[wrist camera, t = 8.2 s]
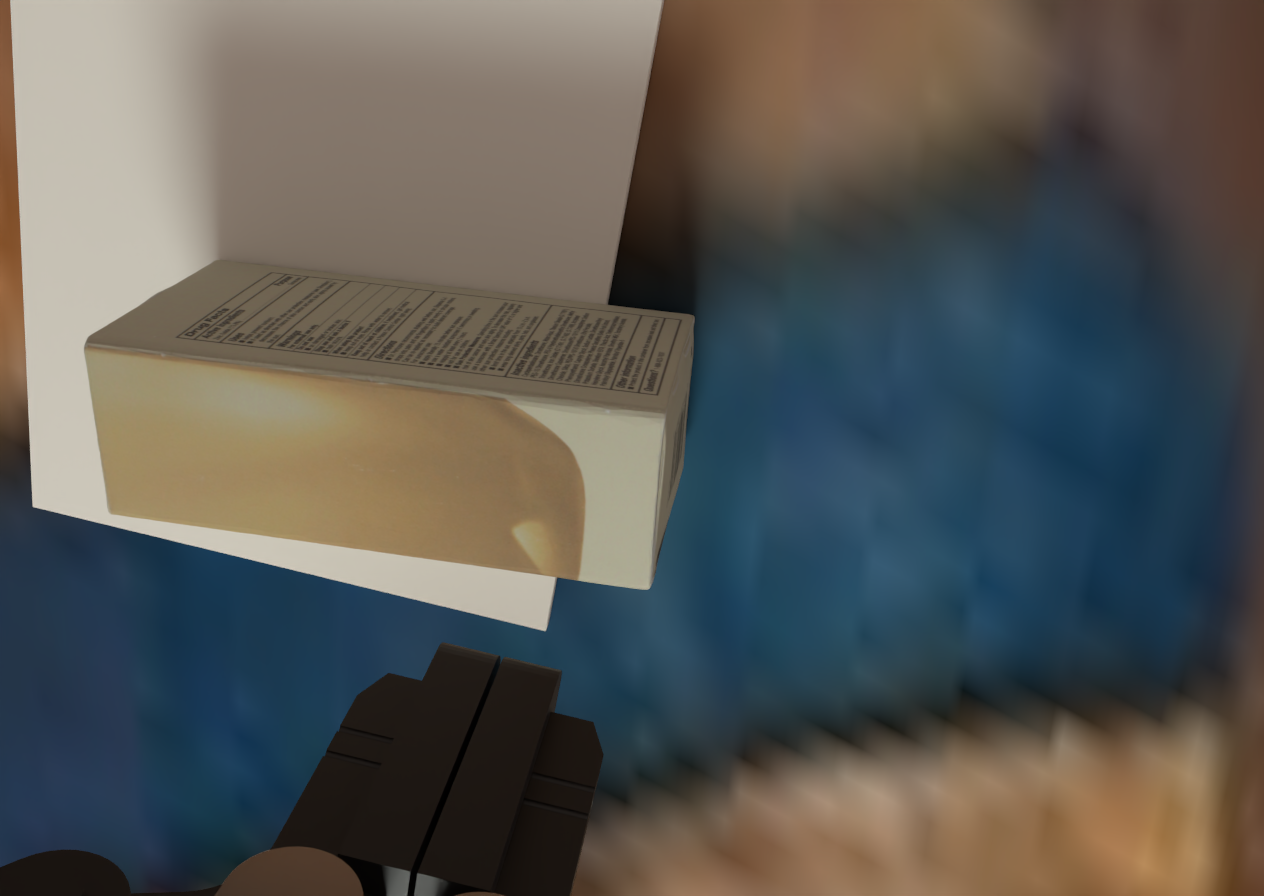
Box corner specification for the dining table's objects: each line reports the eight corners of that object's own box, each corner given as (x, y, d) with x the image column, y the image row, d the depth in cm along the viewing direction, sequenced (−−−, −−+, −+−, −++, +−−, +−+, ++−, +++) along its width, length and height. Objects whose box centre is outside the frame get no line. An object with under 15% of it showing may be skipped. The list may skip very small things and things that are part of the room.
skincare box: (687, 471, 30) (234, 409, 32) (704, 309, 28) (221, 251, 30) (649, 606, 25) (97, 523, 26) (666, 413, 23) (70, 335, 24)
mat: (41, 500, 34) (32, 506, 34) (8, -309, 25) (-4, -312, 25) (548, 623, 33) (545, 631, 33) (695, -168, 25) (693, -169, 24)
